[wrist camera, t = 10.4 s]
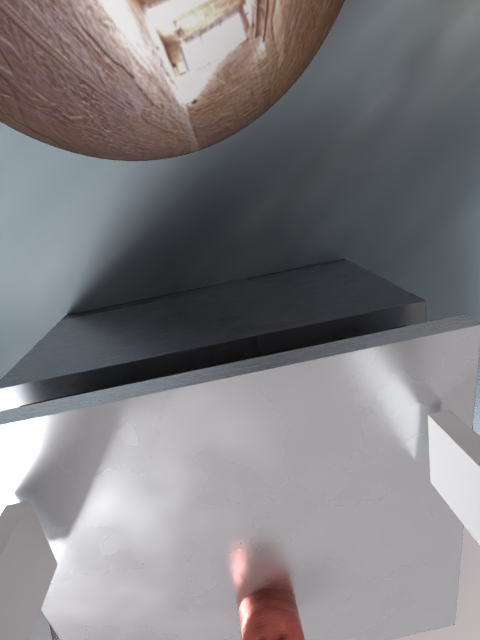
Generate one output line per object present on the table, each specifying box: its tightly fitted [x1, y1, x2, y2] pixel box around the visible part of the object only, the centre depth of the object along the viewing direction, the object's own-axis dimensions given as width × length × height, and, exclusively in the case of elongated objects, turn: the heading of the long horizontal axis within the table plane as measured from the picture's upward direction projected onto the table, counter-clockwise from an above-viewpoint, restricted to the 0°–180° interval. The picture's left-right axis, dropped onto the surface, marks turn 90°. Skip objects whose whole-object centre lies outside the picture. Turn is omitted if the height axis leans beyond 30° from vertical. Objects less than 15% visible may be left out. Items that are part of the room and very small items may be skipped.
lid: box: [0, 314, 480, 640], centre depth 15 cm, size 16×16×3 cm
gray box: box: [0, 259, 473, 430], centre depth 22 cm, size 16×21×9 cm
